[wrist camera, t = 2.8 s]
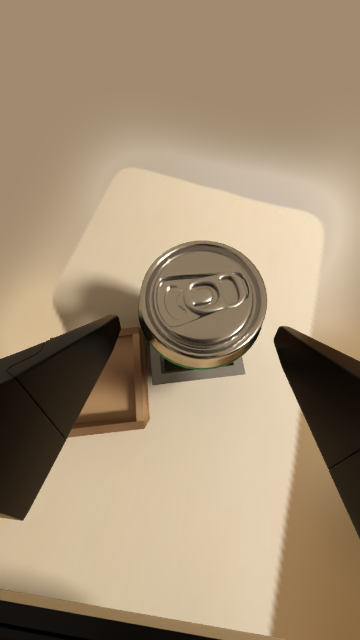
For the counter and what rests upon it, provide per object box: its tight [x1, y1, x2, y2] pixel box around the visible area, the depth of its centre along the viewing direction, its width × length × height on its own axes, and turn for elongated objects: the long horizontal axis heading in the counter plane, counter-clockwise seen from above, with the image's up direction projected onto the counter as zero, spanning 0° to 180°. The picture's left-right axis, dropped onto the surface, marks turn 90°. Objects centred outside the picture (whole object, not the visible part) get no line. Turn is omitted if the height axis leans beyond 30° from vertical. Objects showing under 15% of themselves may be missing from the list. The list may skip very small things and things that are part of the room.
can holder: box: [150, 345, 245, 385], centre depth 15 cm, size 8×8×3 cm
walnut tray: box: [50, 327, 149, 437], centre depth 15 cm, size 9×9×2 cm
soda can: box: [138, 241, 267, 370], centre depth 11 cm, size 5×5×12 cm
